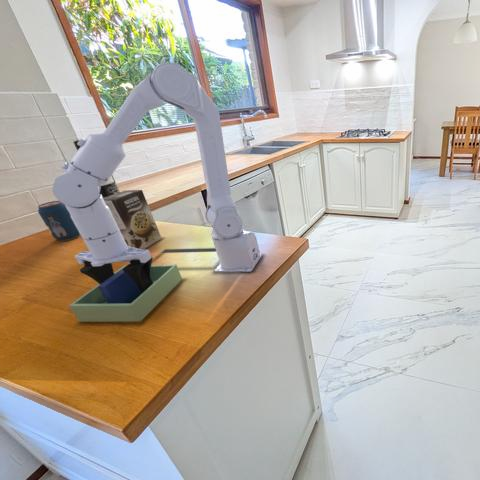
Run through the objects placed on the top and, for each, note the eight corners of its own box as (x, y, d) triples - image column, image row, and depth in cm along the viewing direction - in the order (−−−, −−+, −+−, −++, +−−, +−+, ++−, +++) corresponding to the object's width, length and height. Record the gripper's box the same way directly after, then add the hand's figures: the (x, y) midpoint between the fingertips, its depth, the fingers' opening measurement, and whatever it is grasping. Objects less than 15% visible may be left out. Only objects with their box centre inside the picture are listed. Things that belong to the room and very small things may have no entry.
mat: (231, 249, 82) (231, 247, 82) (214, 268, 73) (213, 267, 73) (165, 250, 84) (164, 249, 84) (141, 270, 75) (140, 268, 75)
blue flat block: (153, 284, 68) (141, 258, 64) (121, 313, 59) (105, 286, 56) (147, 284, 68) (135, 259, 65) (113, 313, 59) (97, 286, 56)
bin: (183, 280, 69) (176, 264, 67) (141, 323, 57) (131, 305, 55) (132, 281, 70) (124, 265, 68) (80, 323, 58) (68, 305, 56)
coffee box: (139, 252, 84) (114, 200, 76) (121, 252, 85) (95, 200, 77) (163, 238, 91) (142, 189, 84) (146, 237, 93) (124, 189, 85)
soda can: (79, 231, 102) (60, 198, 96) (85, 235, 98) (66, 201, 92) (53, 239, 97) (32, 205, 91) (58, 244, 93) (37, 209, 87)
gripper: (47, 244, 53) (83, 302, 59) (119, 242, 52) (149, 301, 58) (81, 227, 59) (110, 281, 66) (147, 225, 58) (170, 280, 64)
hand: (130, 289), depth 62 cm, fingers open, 7 cm apart
